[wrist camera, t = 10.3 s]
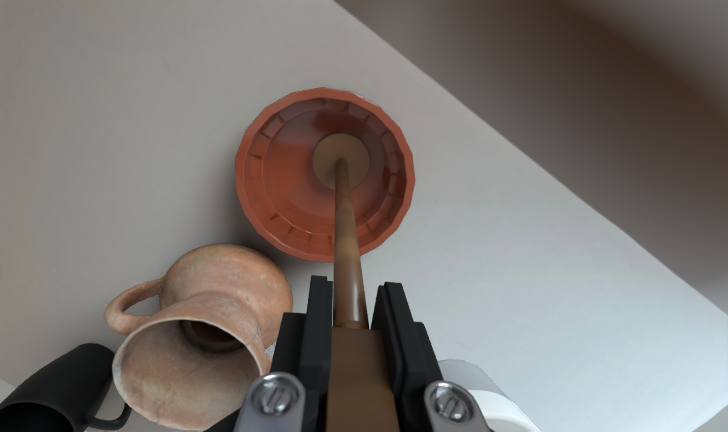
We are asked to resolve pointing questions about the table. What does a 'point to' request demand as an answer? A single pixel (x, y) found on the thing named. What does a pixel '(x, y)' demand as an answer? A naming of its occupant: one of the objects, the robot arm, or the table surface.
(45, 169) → the table surface
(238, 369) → the ceramic jug
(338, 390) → the wooden dowel plunger
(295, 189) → the mixing bowl
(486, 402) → the bowl
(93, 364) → the mug
